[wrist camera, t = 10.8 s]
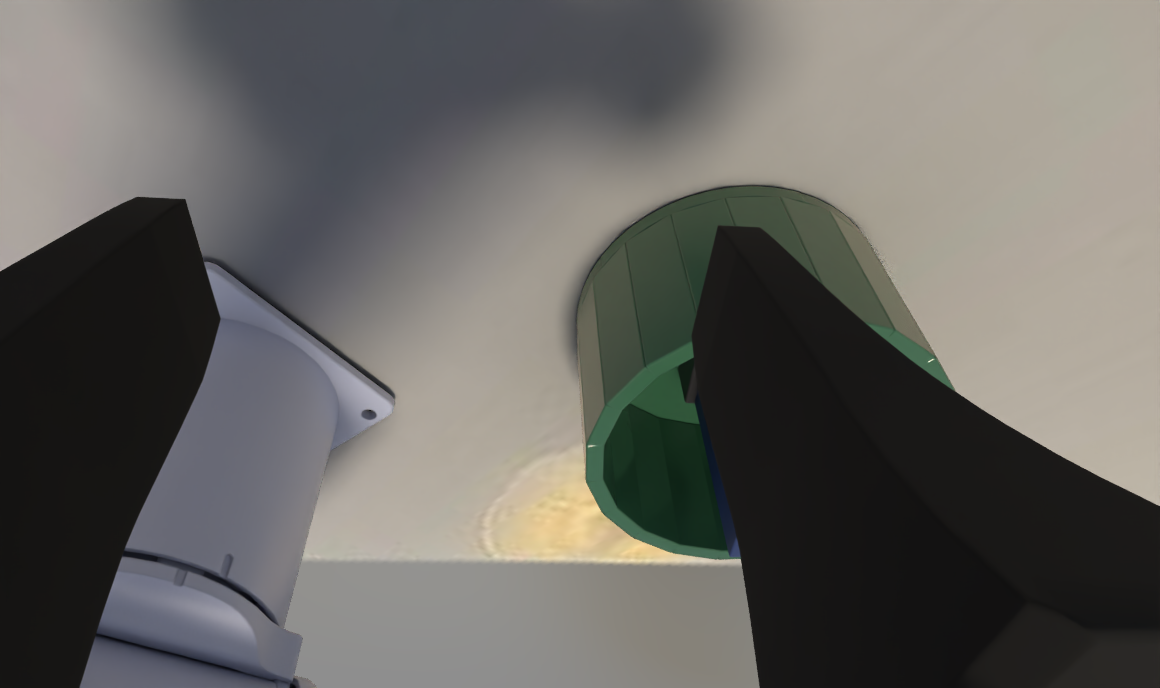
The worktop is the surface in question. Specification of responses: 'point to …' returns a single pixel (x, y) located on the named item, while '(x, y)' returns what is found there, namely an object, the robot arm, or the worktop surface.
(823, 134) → the worktop surface
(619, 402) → the cup
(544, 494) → the worktop surface
